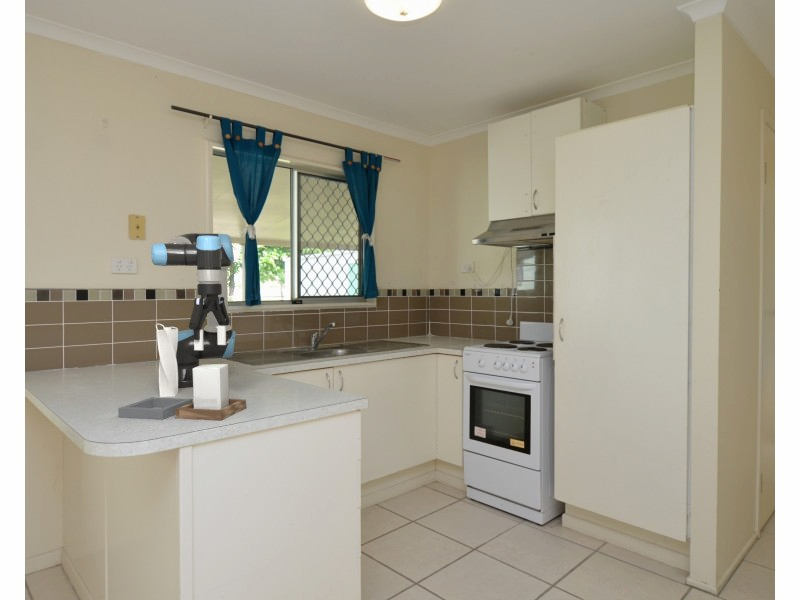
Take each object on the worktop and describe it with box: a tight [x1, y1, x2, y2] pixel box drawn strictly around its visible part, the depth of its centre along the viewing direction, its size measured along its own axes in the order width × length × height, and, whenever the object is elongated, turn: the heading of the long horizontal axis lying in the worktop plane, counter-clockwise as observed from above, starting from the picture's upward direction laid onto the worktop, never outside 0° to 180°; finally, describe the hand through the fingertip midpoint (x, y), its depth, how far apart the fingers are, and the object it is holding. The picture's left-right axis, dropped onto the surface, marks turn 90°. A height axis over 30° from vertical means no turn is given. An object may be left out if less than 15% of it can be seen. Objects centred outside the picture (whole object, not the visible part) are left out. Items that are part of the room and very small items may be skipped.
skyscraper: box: [155, 323, 179, 398], centre depth 195 cm, size 8×8×28 cm
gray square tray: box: [117, 397, 194, 420], centre depth 170 cm, size 16×16×3 cm
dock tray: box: [174, 398, 247, 421], centre depth 168 cm, size 16×16×3 cm
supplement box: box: [192, 363, 230, 410], centre depth 168 cm, size 9×9×15 cm
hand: (210, 347), depth 168 cm, fingers open, 13 cm apart
